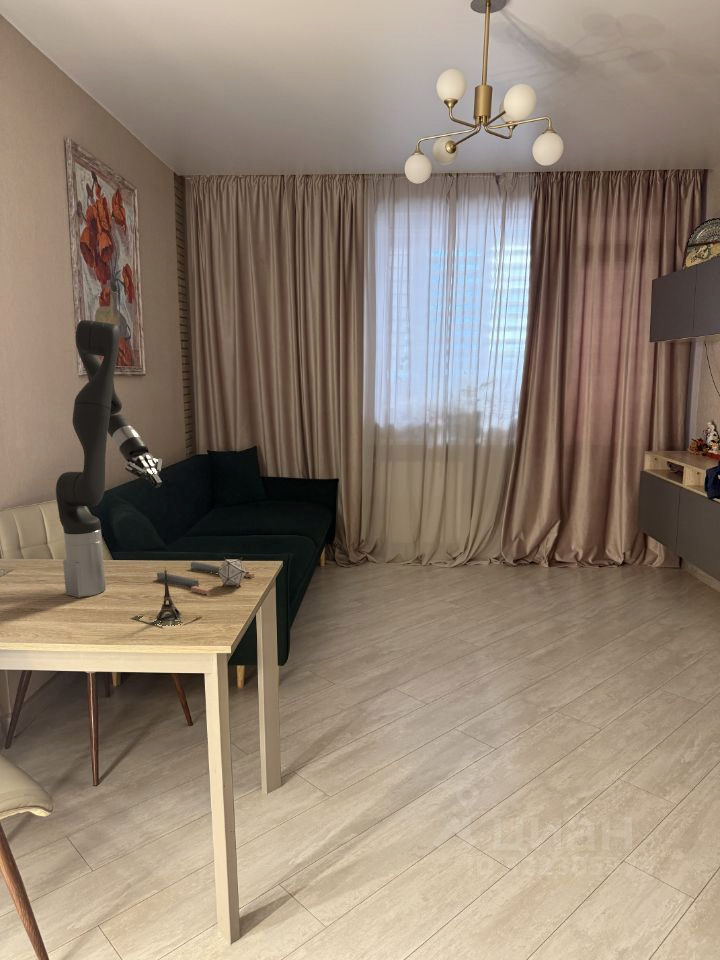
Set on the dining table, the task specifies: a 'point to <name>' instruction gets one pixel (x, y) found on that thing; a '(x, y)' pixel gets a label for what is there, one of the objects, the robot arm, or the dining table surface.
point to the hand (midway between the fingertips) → (158, 485)
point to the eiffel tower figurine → (166, 610)
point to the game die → (232, 572)
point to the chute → (187, 581)
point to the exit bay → (207, 591)
